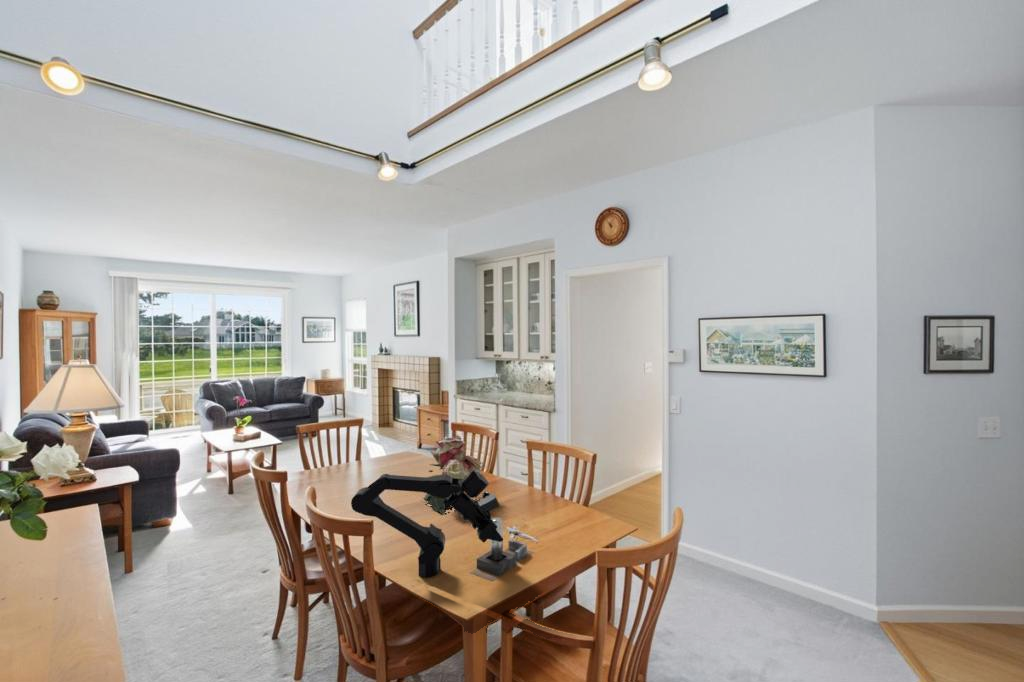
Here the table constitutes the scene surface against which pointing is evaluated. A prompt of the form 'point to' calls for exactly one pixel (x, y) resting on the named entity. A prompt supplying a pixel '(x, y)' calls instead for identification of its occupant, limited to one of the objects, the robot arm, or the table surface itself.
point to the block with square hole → (501, 561)
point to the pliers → (515, 531)
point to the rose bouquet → (452, 466)
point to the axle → (497, 542)
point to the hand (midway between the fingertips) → (500, 537)
